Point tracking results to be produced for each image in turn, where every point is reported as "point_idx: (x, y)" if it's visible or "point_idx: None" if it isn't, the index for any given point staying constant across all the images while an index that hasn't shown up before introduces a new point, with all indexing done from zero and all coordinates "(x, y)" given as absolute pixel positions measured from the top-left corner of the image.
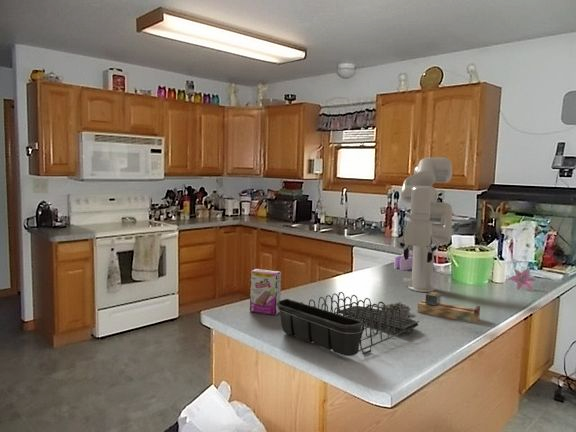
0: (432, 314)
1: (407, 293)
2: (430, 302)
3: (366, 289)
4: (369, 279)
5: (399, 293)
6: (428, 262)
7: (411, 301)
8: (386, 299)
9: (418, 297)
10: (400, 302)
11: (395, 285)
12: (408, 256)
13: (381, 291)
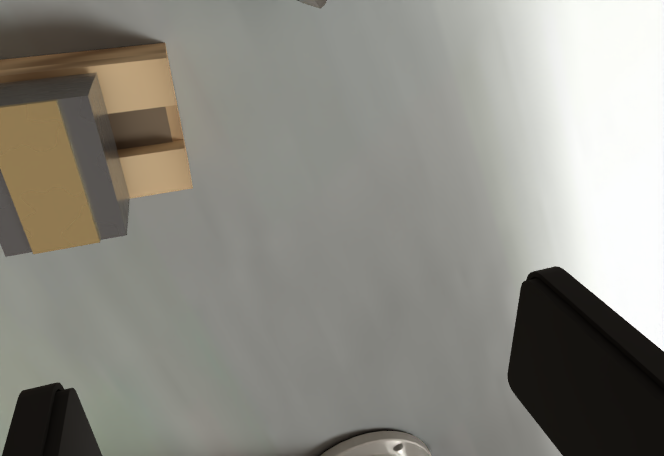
0: (30, 57)
1: (396, 369)
2: (40, 84)
3: (611, 267)
4: None
5: (434, 338)
6: (34, 389)
7: (317, 254)
8: (464, 175)
9: (315, 353)
10: (315, 4)
11: (493, 433)
12: (532, 404)
13: None
